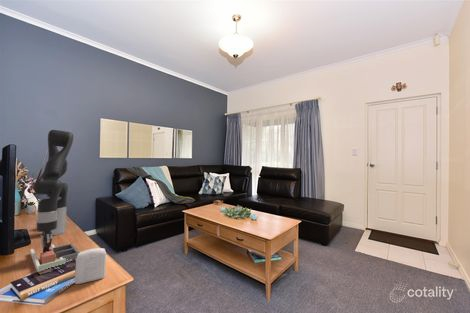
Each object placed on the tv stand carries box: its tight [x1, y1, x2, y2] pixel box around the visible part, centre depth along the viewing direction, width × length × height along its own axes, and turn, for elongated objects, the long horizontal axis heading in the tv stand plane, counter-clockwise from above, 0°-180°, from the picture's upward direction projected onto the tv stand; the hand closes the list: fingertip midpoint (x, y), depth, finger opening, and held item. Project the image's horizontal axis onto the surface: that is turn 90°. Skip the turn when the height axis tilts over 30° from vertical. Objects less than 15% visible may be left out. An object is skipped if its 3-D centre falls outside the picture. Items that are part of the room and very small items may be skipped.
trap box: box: [30, 243, 81, 272], centre depth 103 cm, size 30×16×4 cm, turn 49°
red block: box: [39, 250, 56, 265], centre depth 99 cm, size 6×4×4 cm
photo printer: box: [74, 247, 107, 285], centre depth 85 cm, size 10×4×12 cm, turn 123°
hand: (45, 255), depth 102 cm, fingers closed
